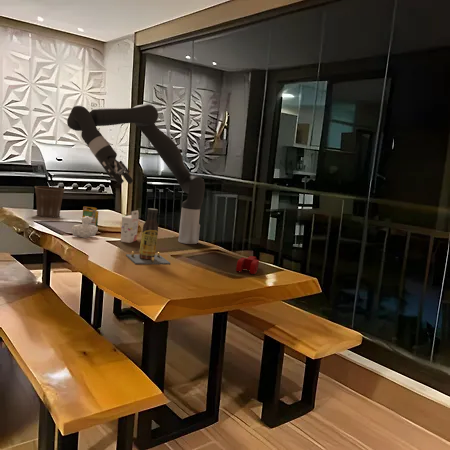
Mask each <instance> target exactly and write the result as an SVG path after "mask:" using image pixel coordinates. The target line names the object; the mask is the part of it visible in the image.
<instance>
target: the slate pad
mask: <svg viewBox="0 0 450 450" xmlns="http://www.w3.org/2000/svg"><path fill="white" fill-rule="evenodd" d="M131 254H132V253H130V254H127V253H126V254H125V256H126V258H127V259H129V260H130V261H131V262H132V263H133V264H135V265H171V262H170V261H169V260H167V259H166V258H165V257H164V256H162V255H160V257H157V254H155V256H154V263H152V262H151V260H152V259H150V260H147V259H141V258H140V257H139V255H140V253H139V254H136V253H134V257H131Z"/></svg>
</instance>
